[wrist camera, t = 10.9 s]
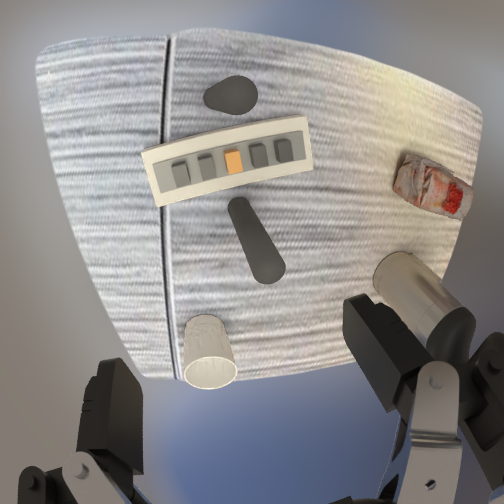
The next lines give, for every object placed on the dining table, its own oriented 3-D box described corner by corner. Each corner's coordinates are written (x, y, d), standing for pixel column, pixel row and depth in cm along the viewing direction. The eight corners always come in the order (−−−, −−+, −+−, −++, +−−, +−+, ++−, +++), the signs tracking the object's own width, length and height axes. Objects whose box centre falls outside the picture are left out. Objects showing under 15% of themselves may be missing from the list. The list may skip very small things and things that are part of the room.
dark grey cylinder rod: (247, 194, 40) (283, 251, 26) (251, 214, 41) (287, 279, 28) (225, 200, 40) (250, 260, 26) (230, 220, 41) (256, 287, 27)
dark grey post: (225, 84, 32) (253, 72, 19) (230, 106, 34) (261, 111, 20) (201, 89, 32) (212, 79, 18) (206, 112, 33) (220, 119, 20)
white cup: (219, 305, 48) (228, 350, 39) (232, 337, 52) (243, 381, 43) (174, 319, 47) (175, 365, 39) (191, 349, 51) (195, 394, 43)
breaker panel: (298, 114, 36) (314, 117, 31) (304, 164, 39) (320, 174, 35) (144, 148, 34) (137, 156, 29) (158, 199, 38) (155, 214, 33)
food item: (384, 193, 44) (423, 217, 36) (398, 147, 41) (441, 163, 32) (435, 207, 48) (471, 230, 40) (448, 168, 45) (487, 186, 36)
